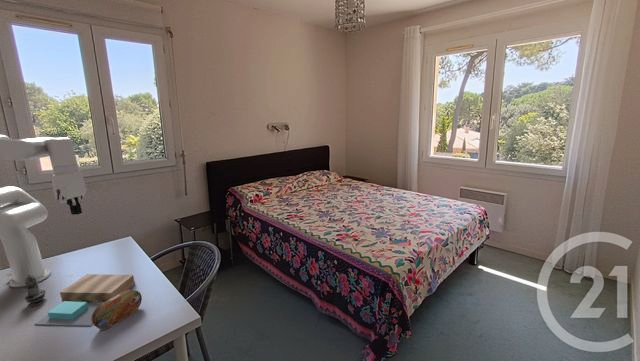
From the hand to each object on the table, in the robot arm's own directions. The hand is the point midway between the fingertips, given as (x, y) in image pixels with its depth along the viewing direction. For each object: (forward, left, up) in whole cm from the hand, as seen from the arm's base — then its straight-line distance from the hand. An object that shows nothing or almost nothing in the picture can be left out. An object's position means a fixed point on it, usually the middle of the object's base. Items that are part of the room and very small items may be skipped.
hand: (76, 213), depth 117 cm
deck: (+12, -10, -29) cm, 33 cm away
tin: (+31, -24, -29) cm, 49 cm away
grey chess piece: (-7, -17, -29) cm, 35 cm away
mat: (+14, -22, -29) cm, 39 cm away
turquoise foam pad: (+11, -22, -26) cm, 36 cm away
